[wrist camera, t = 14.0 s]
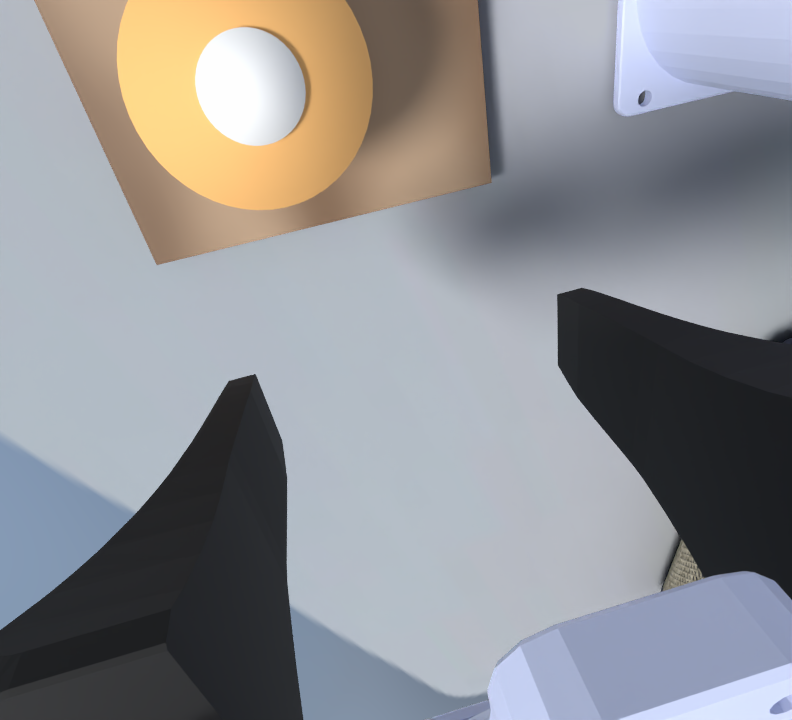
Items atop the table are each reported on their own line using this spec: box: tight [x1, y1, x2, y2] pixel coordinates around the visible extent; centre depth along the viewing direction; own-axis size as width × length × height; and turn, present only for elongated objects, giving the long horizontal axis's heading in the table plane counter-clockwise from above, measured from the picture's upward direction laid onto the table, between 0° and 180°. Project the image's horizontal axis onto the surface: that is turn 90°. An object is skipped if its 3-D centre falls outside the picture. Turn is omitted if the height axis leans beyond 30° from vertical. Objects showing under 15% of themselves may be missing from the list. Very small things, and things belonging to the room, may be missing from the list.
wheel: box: [117, 0, 373, 210], centre depth 14 cm, size 6×6×5 cm
